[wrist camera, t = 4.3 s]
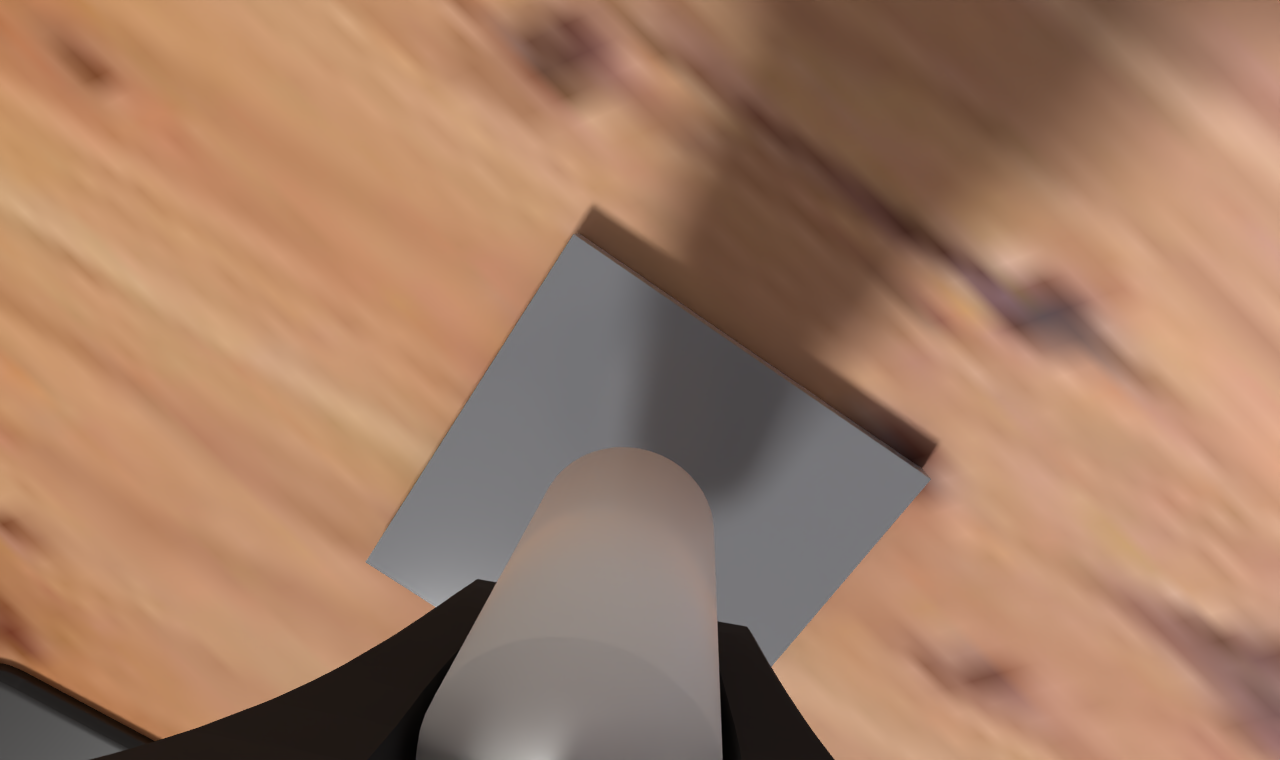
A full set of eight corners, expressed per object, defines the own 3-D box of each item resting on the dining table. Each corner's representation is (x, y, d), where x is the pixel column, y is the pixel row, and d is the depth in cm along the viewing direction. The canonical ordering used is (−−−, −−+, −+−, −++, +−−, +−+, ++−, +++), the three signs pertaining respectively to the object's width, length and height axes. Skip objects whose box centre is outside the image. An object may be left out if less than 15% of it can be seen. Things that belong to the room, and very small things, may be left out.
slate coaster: (922, 469, 16) (930, 479, 16) (686, 748, 18) (686, 766, 18) (578, 232, 16) (573, 234, 15) (376, 550, 18) (365, 561, 17)
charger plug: (728, 463, 12) (759, 763, 6) (672, 760, 14) (646, 1284, 7) (549, 433, 12) (373, 691, 6) (512, 730, 14) (336, 1216, 7)
